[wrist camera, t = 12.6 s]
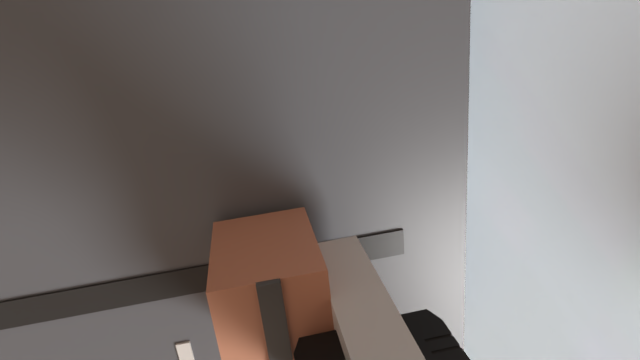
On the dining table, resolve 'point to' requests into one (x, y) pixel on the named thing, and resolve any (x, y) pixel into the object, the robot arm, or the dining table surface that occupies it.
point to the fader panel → (219, 157)
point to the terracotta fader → (266, 285)
